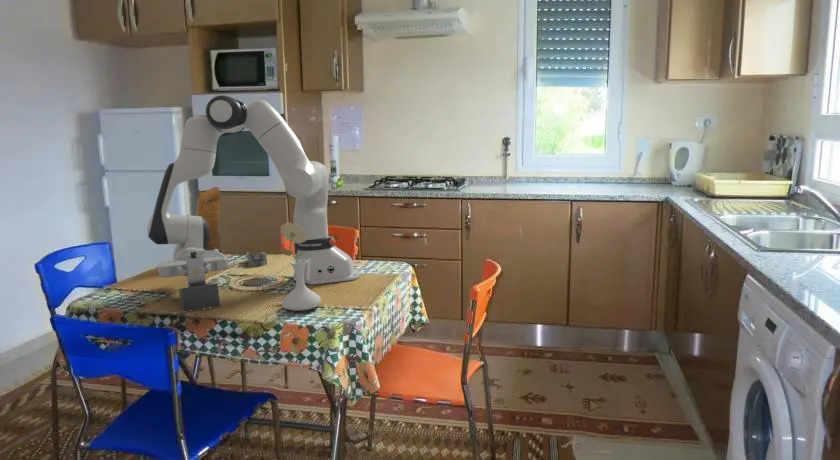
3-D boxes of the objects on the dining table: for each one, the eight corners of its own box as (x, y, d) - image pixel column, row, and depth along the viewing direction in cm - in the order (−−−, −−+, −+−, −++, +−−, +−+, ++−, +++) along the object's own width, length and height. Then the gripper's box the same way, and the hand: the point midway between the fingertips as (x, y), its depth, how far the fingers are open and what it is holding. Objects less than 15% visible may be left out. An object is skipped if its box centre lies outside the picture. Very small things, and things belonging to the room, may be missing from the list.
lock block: (188, 287, 190) (184, 251, 188) (204, 285, 192) (200, 250, 190) (190, 292, 185) (186, 255, 183) (206, 290, 187) (203, 253, 185)
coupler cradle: (179, 299, 194) (177, 278, 193) (213, 294, 198) (211, 273, 197) (184, 312, 182) (181, 289, 181) (219, 306, 186) (217, 284, 185)
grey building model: (246, 261, 241) (245, 251, 241) (267, 259, 243) (266, 249, 242) (247, 268, 231) (246, 257, 230) (268, 266, 233) (267, 255, 232)
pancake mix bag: (232, 256, 250) (225, 186, 244) (206, 268, 231) (198, 193, 226) (216, 255, 251) (209, 186, 245) (189, 268, 233) (181, 193, 227)
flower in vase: (330, 306, 183) (324, 221, 178) (298, 316, 175) (291, 228, 170) (302, 298, 192) (296, 217, 187) (270, 308, 183) (263, 223, 178)
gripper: (154, 256, 194) (156, 266, 182) (222, 248, 203) (229, 257, 191) (156, 276, 195) (159, 287, 183) (224, 267, 204) (231, 277, 192)
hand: (195, 271), depth 187 cm, fingers closed on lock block, 5 cm apart
